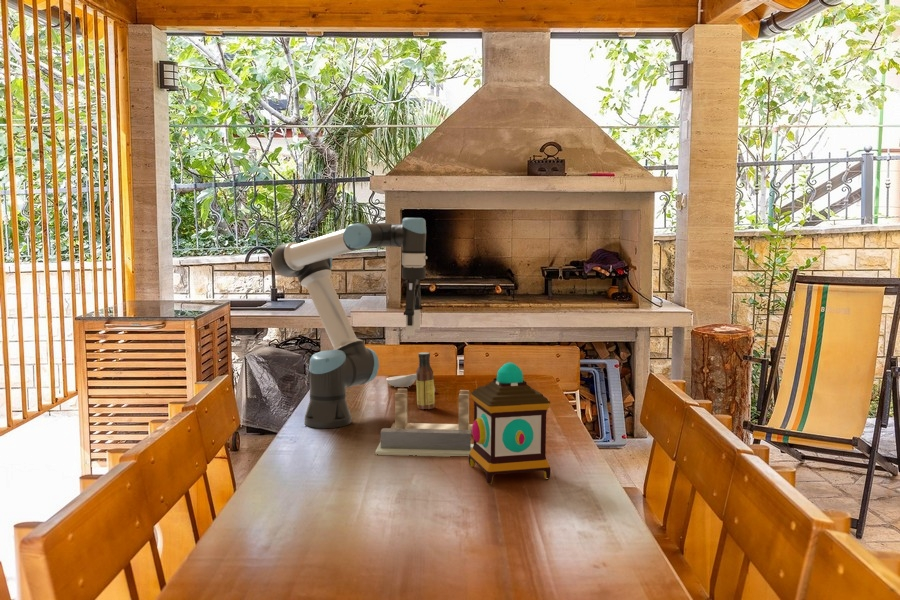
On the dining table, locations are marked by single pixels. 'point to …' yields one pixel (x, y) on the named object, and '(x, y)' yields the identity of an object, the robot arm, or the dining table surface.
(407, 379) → the spoon rest
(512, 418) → the decorative lantern
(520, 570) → the dining table surface
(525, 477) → the dining table surface
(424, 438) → the rail
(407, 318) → the robot arm
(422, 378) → the sauce bottle
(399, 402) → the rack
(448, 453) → the mat
